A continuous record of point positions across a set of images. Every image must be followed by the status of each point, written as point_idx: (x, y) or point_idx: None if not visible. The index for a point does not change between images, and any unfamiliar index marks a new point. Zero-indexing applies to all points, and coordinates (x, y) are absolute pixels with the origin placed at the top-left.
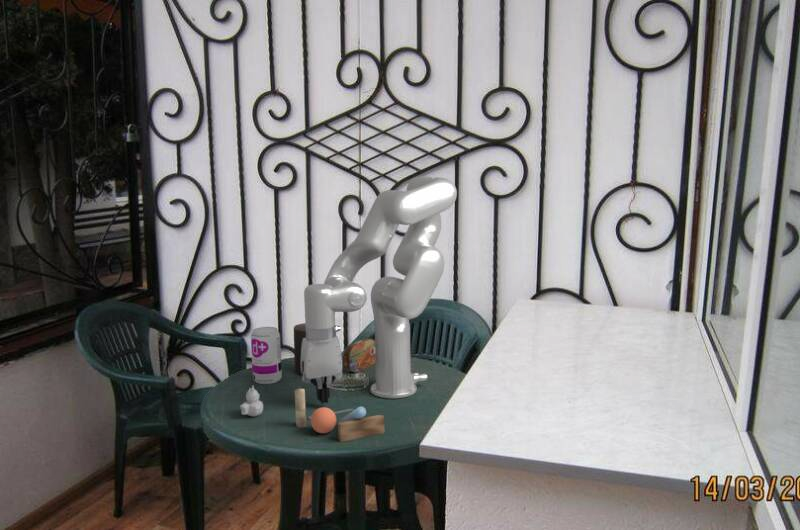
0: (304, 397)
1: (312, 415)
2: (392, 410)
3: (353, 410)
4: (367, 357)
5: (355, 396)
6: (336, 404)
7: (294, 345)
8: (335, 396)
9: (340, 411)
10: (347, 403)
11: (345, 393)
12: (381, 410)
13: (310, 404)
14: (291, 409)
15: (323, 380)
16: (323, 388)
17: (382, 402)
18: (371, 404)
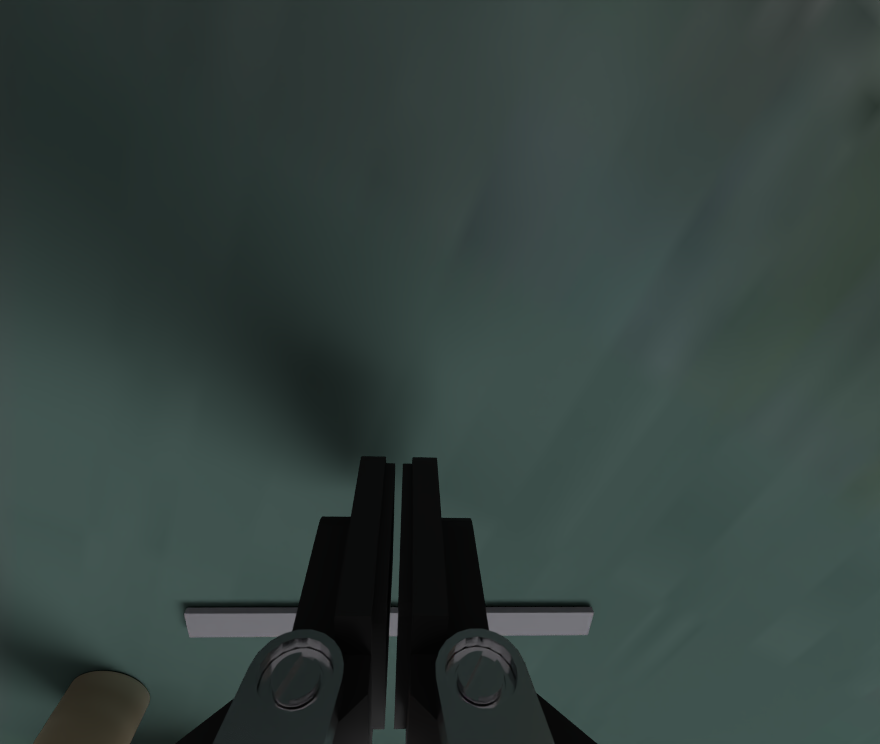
0: None
1: None
2: (790, 711)
3: (582, 628)
4: None
5: (829, 364)
6: (540, 464)
7: None
8: (668, 243)
9: None
10: (638, 488)
11: (828, 210)
12: (739, 689)
13: (295, 336)
14: (46, 369)
15: (443, 732)
16: (379, 717)
17: (867, 589)
18: (774, 587)
